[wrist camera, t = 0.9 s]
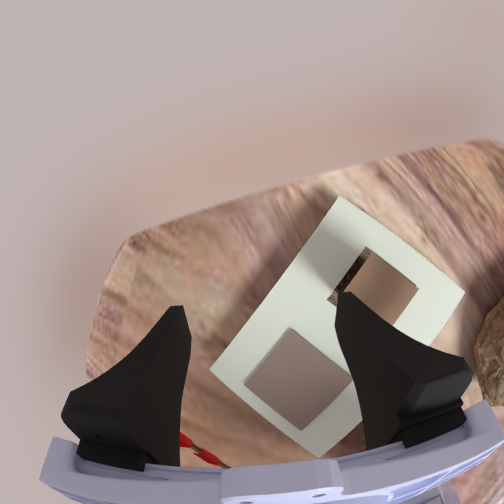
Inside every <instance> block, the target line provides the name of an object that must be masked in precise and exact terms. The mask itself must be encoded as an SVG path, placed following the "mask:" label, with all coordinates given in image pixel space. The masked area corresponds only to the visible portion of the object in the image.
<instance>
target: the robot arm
mask: <svg viewBox="0 0 504 504" xmlns="http://www.w3.org/2000/svg"><path fill="white" fill-rule="evenodd" d="M334 326H335V331H336V335H337V339H338V342H339V345H340V348H341V351H342V353H343V356H344V358H345V361H346V363H347V366H348V368H349V371H350V374H351V376H352V379H353V382H354V385H355V388H356V392H357V396H358V400H359V405H360V410H361V415H362V420H363V426H364V432H365V438H366V447H367V451H364V452H360V453H356V454H351V455H347V456H342V457H337V458H332V459H328V458H321V459H310V460H303V461H296V462H287V463H277V464H265V465H247V466H238V467H232V468H229V469H214V468H188V467H180V415H181V401H182V394H183V389H184V384H185V379H186V374H187V369H188V364H189V360H190V352H191V338H192V337H191V334H190V330H189V327H188V323H187V319H186V315H185V312H184V308H183V306H170V307H169V309H168V310H167V311H166V312H165V313H164V315H163V316H162V317H161V318H160V320H159V321H158V322H157V323H156V325H155V326H154V327H153V328H152V329H151V331H150V332H149V333H148V334H147V335H146V337H145V338H144V339H143V340H142V341H141V342H140V343H139V344H138V345H137V346H136V347H135V348H134V349H133V350H132V351H131V352H130V353H129V354H128V355H127V356H126V357H125V358H123V359H122V360H121V361H120V362H119V363H117V364H116V365H115V366H113V367H112V368H111V369H109V370H108V371H107V372H105V373H104V374H102V375H101V376H99V377H97V378H96V379H94V380H92V381H91V382H89V383H87V384H85V385H83V386H81V387H79V388H77V389H75V390H73V391H71V392H70V394H69V396H68V398H67V401H66V403H65V405H64V408H63V410H62V413H61V418H62V420H63V422H64V423H65V424H66V426H67V427H68V428H69V429H70V430H71V431H72V432H73V433H74V434H75V435H76V436H77V437H78V438H79V439H80V442H79V445H78V444H76V443H74V442H71V441H68V440H64V439H61V438H58V437H53V438H52V441H51V444H50V447H49V450H48V453H47V456H46V459H45V462H44V465H43V468H42V472H41V475H40V481H41V482H43V483H44V484H46V485H48V486H49V487H51V488H52V489H54V490H56V491H57V492H59V493H61V494H63V495H64V496H66V497H68V498H70V499H72V500H74V501H77V502H80V503H83V504H461V503H460V500H459V497H458V495H457V493H456V492H454V491H453V488H452V485H451V483H450V479H452V478H454V477H456V476H457V475H459V474H461V473H463V472H465V471H467V470H468V469H470V468H472V467H474V466H475V465H477V464H479V463H480V462H481V461H482V460H484V459H485V458H486V457H487V456H488V455H490V454H491V453H492V452H493V451H494V450H495V449H497V448H498V447H499V446H500V445H501V444H502V443H503V442H504V432H503V430H502V428H501V426H500V424H499V422H498V420H497V418H496V416H495V415H494V413H493V411H492V409H491V407H490V405H489V404H488V402H487V400H483V401H481V402H479V403H477V404H475V405H473V406H471V407H469V408H467V409H466V410H465V411H464V412H463V410H462V408H461V406H462V405H463V401H462V399H461V398H460V397H461V396H462V395H463V393H464V392H465V390H466V389H467V387H468V386H469V384H470V382H471V381H472V377H473V372H472V370H471V369H470V367H469V366H468V364H467V363H466V361H465V360H464V358H462V357H459V356H455V355H452V354H448V353H445V352H442V351H439V350H437V349H434V348H432V347H429V346H427V345H425V344H423V343H421V342H419V341H417V340H415V339H413V338H411V337H409V336H408V335H406V334H404V333H403V332H401V331H399V330H398V329H396V328H395V327H394V326H392V325H391V324H389V323H388V322H387V321H385V320H384V319H383V318H381V317H380V316H379V315H378V314H376V313H375V312H374V311H373V310H372V309H370V308H369V307H368V306H367V305H366V304H365V303H363V302H362V301H361V300H360V299H359V298H358V297H357V296H355V295H354V294H353V293H352V292H351V291H349V292H341V293H338V300H337V308H336V316H335V324H334Z"/></svg>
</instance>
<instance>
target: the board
mask: <svg viewBox="0 0 504 504" xmlns="http://www.w3.org/2000/svg"><path fill="white" fill-rule="evenodd" d="M364 249H365V250H366V251H368V252H369V253H370V254H371V253H372V252H373V253H374V254H375V255H377V256H378V257H379V258H381V259H382V260H383V261H385V262H386V263H387V264H388V265H390V266H391V267H392V268H394V269H395V270H396V271H397V272H399V273H400V274H401V275H403V276H404V277H405V278H406V279H408V280H409V281H410V282H411V283H413V284H414V285H415V286H416V287H418V288H419V290H418V291H417V293H416V294H415V296H414V297H413V299H412V300H411V301H410V303H409V304H408V306H407V307H406V308H405V310H404V311H403V313H402V314H401V315H400V317H399V318H398V319H397V321H396V322H395V323H394V325H393V326H394V327H395V328H396V329H398V330H399V331H401V332H403V333H404V334H406V335H408V336H409V337H411V338H413V339H415V340H417V341H419V342H421V343H423V344H425V345H427V346H429V345H430V344H431V342H432V341H433V340H434V338H435V337H436V335H437V334H438V333H439V331H440V330H441V329H442V327H443V326H444V324H445V323H446V321H447V320H448V318H449V317H450V315H451V314H452V312H453V311H454V309H455V308H456V306H457V305H458V303H459V302H460V300H461V298H462V297H463V295H464V294H465V291H463V290H462V289H461V288H460V287H459V286H458V285H457V284H455V283H454V282H453V281H452V280H451V279H450V278H449V277H447V276H446V275H445V274H444V273H443V272H441V271H440V270H439V269H438V268H437V267H435V266H434V265H433V264H432V263H431V262H429V261H428V260H427V259H426V258H424V257H423V256H422V255H421V254H419V253H418V252H417V251H416V250H414V249H413V248H412V247H410V246H409V245H408V244H407V243H405V242H404V241H403V240H401V239H400V238H399V237H397V236H396V235H395V234H393V233H392V232H391V231H389V230H388V229H387V228H385V227H384V226H383V225H381V224H380V223H378V222H377V221H376V220H374V219H373V218H371V217H370V216H369V215H367V214H366V213H364V212H363V211H362V210H360V209H359V208H357V207H356V206H354V205H353V204H351V203H350V202H348V201H347V200H345V199H344V198H342V197H341V196H339V197H338V199H337V200H336V201H335V203H334V204H333V206H332V207H331V209H330V210H329V211H328V213H327V214H326V216H325V217H324V218H323V220H322V221H321V223H320V224H319V226H318V227H317V228H316V230H315V231H314V233H313V234H312V235H311V237H310V238H309V239H308V241H307V242H306V244H305V245H304V246H303V248H302V249H301V251H300V252H299V253H298V255H297V256H296V257H295V259H294V260H293V261H292V263H291V264H290V266H289V267H288V268H287V270H286V271H285V272H284V274H283V275H282V276H281V278H280V279H279V280H278V282H277V283H276V284H275V286H274V287H273V288H272V290H271V291H270V292H269V294H268V295H267V296H266V298H265V299H264V300H263V302H262V303H261V304H260V306H259V307H258V308H257V310H256V311H255V312H254V313H253V315H252V316H251V317H250V319H249V320H248V321H247V322H246V324H245V325H244V326H243V328H242V329H241V330H240V331H239V333H238V334H237V335H236V337H235V338H234V339H233V340H232V342H231V343H230V344H229V346H228V347H227V348H226V349H225V351H224V352H223V353H222V354H221V356H220V357H219V358H218V359H217V361H216V362H215V363H214V364H213V366H212V367H211V368H210V369H209V370H210V371H211V372H212V373H213V374H214V375H215V376H216V377H218V378H219V379H220V380H221V381H222V382H223V383H224V384H225V385H226V386H228V387H229V388H230V389H231V390H232V391H233V392H234V393H235V394H237V395H238V396H239V397H240V398H241V399H242V400H244V401H245V402H246V403H247V404H248V405H249V406H251V407H252V408H253V409H254V410H255V411H257V412H258V413H259V414H260V415H262V416H263V417H264V418H265V419H266V420H268V421H269V422H270V423H271V424H273V425H274V426H275V427H277V428H278V429H279V430H280V431H282V432H283V433H284V434H286V435H287V436H288V437H290V438H291V439H292V440H294V441H295V442H296V443H298V444H299V445H300V446H302V447H303V448H305V449H306V450H307V451H309V452H310V453H312V454H313V455H314V456H316V457H317V458H320V457H321V456H322V455H323V454H325V453H326V452H327V451H328V450H330V449H331V448H332V447H333V446H334V445H336V444H337V443H338V442H339V441H340V440H341V439H342V438H344V437H345V436H346V435H347V434H348V433H349V432H350V431H351V430H353V429H354V428H355V427H356V426H357V425H358V424H359V423H360V422H361V421H362V415H361V410H360V405H359V400H358V396H357V392H356V388H355V385H354V382H353V379H352V376H351V374H350V371H349V368H348V366H347V363H346V361H345V358H344V356H343V353H342V351H341V348H340V345H339V342H338V339H337V335H336V331H335V326H334V324H335V316H336V308H337V304H336V303H335V302H333V301H332V300H331V299H330V298H329V297H330V296H331V294H332V293H333V292H334V290H335V289H336V288H337V286H338V285H339V284H340V282H341V281H342V280H343V278H344V277H345V276H346V274H347V273H348V271H349V270H350V269H351V267H352V266H353V264H354V263H355V262H356V260H357V259H358V257H359V256H360V255H361V253H362V252H363V250H364Z"/></svg>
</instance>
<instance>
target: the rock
mask: <svg viewBox="0 0 504 504" xmlns="http://www.w3.org/2000/svg"><path fill="white" fill-rule="evenodd" d="M474 354H475V360H476V363H477V375H478V382H479V385H480V388H481V391H482V395H483V400H487V402H488V404H489V405H490V406H491V407H494V406H504V296H503V297H502V298H501V299H500V300H499V303H498V304H497V305H496V306H495V307H493V309H492V310H491V311H490V312H489V313H488V314H487V316H486V318H485V322H484V323H483V325H482V327H481V330H480V333H479V334H478V336H477V342H476V344H475V346H474Z"/></svg>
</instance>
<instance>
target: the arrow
mask: <svg viewBox="0 0 504 504" xmlns="http://www.w3.org/2000/svg"><path fill="white" fill-rule="evenodd" d="M180 447H186V448H192V449H193V450H195V451H196V452H198V453H199V454H197V453H194V454H195V455H197V456H198V457H200V458H201V459H203V460H204V461H206V462H208V463H210V464H213V465H217V466H220V467H222V468H224V469H229V468H228V467H227V466H225V465H223V464H222V463H221V462H220V460H219V459H218V458H217V457H216V456H214V455H212V454H211V453H209V452H208V451H206V450H205V449H203V448H202V447H201V448H202V450H203V452H202V451H200V450H199V449H197V448H196V447H194V446H193V443H192V440H191V439H189V438H188V437H186V436H185V435H184V434H182V433H181V432H180Z"/></svg>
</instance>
